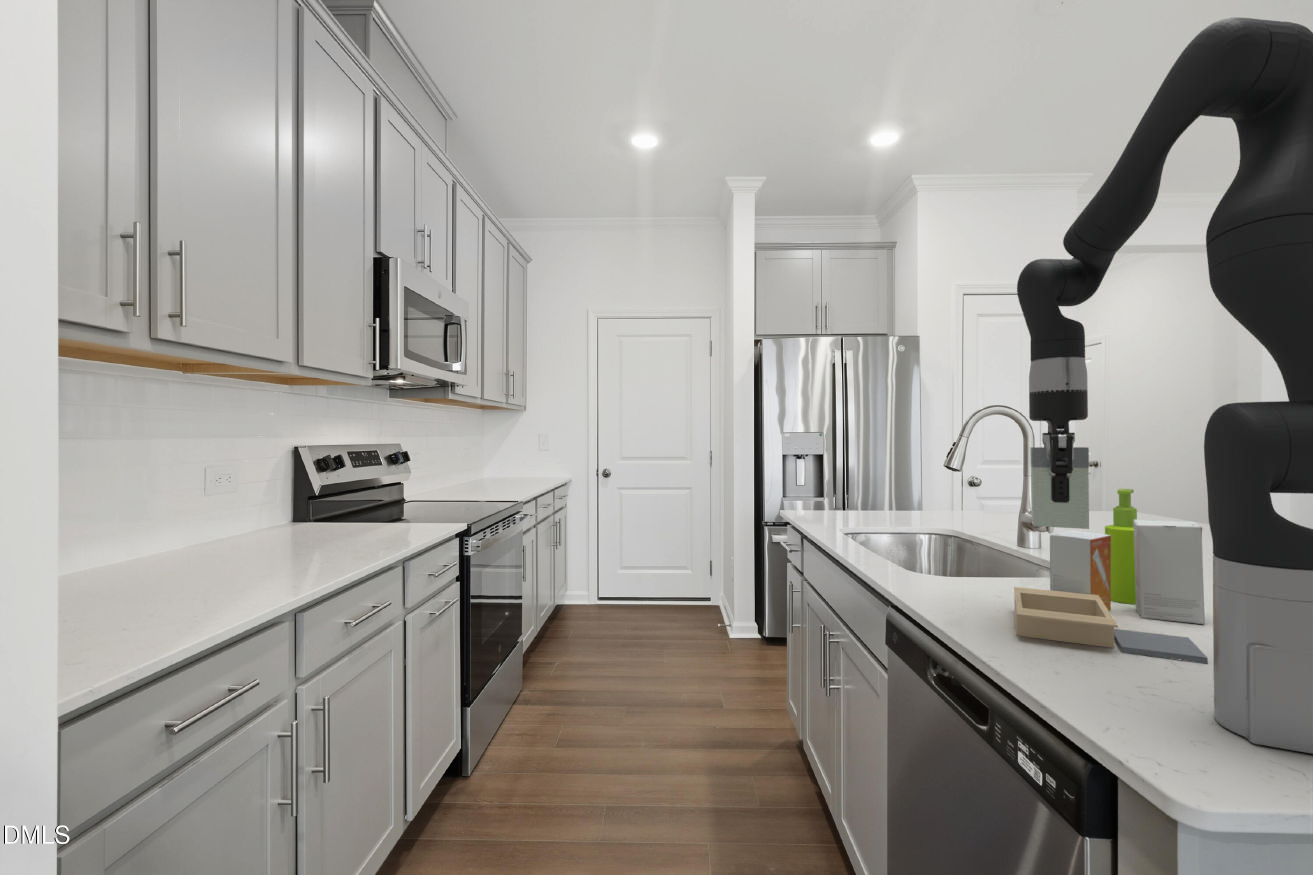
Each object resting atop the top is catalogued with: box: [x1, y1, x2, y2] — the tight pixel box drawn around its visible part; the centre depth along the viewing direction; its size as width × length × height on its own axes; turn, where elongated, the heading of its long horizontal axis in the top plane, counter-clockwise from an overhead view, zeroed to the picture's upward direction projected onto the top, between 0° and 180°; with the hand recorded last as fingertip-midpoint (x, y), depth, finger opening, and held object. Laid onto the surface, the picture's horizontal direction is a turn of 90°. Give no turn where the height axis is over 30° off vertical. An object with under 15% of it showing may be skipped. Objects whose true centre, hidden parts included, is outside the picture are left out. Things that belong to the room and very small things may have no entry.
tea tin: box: [1029, 446, 1090, 530], centre depth 93 cm, size 5×7×12 cm, turn 61°
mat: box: [1114, 628, 1209, 665], centre depth 86 cm, size 9×9×1 cm
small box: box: [1049, 530, 1112, 612], centre depth 104 cm, size 8×6×13 cm
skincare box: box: [1133, 519, 1206, 625], centre depth 100 cm, size 8×7×16 cm
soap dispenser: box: [1104, 488, 1138, 605], centre depth 110 cm, size 6×7×20 cm
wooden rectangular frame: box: [1013, 586, 1119, 649], centre depth 94 cm, size 18×12×4 cm, turn 151°
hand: (1058, 500), depth 93 cm, fingers closed on tea tin, 4 cm apart
